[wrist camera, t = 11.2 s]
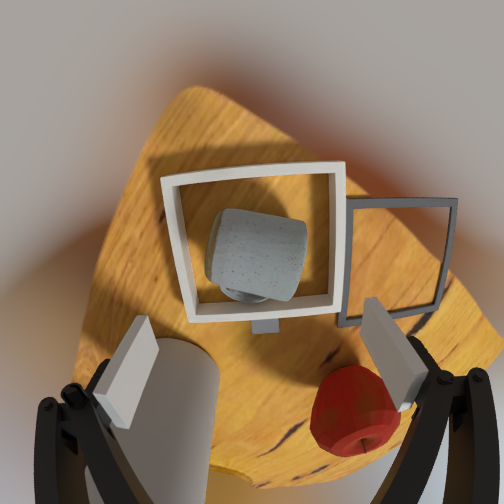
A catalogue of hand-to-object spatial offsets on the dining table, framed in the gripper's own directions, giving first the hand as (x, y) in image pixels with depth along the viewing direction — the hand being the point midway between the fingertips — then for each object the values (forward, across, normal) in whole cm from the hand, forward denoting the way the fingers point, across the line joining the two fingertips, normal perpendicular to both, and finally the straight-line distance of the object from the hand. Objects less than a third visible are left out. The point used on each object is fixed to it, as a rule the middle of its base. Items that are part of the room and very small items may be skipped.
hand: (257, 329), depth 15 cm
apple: (+14, +12, -21) cm, 28 cm away
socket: (+14, +1, 0) cm, 14 cm away
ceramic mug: (+14, 0, -1) cm, 14 cm away
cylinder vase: (+15, -12, -17) cm, 26 cm away
